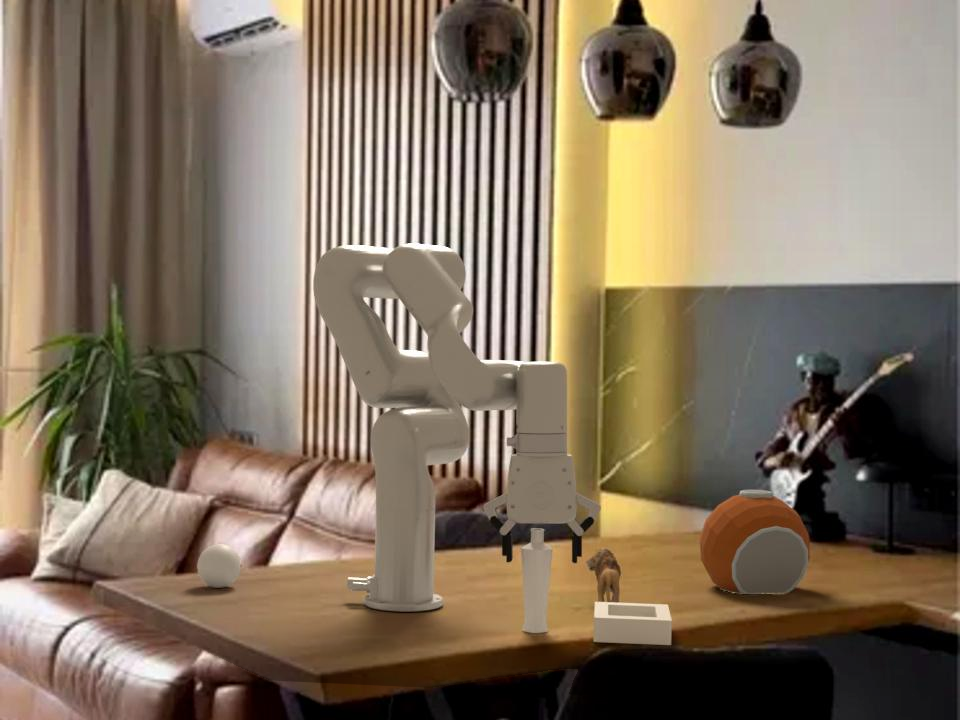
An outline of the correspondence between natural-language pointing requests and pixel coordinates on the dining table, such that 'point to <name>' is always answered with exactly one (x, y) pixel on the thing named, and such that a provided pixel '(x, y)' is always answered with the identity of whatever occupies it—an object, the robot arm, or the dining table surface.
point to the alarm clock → (755, 544)
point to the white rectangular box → (632, 623)
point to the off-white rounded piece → (219, 565)
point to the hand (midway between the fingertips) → (542, 561)
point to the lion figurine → (606, 574)
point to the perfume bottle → (536, 581)
